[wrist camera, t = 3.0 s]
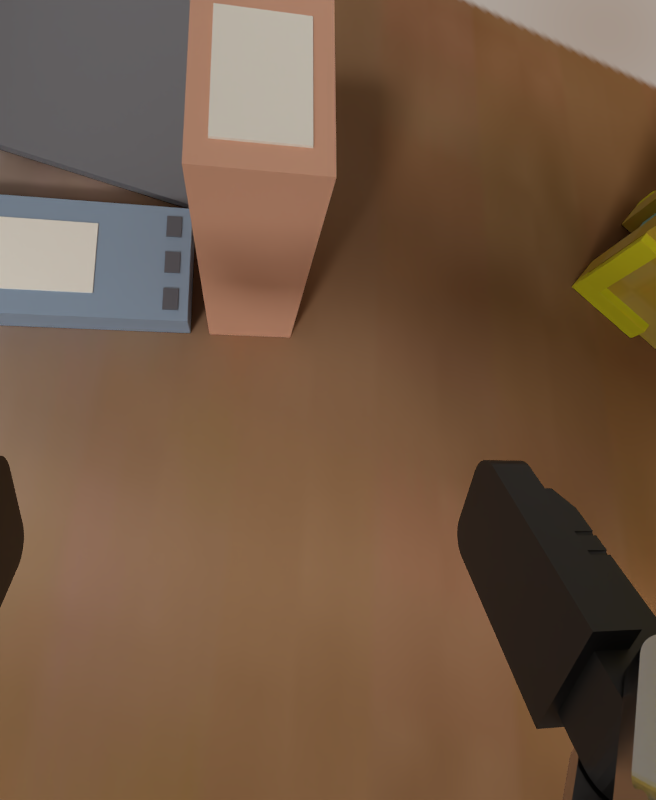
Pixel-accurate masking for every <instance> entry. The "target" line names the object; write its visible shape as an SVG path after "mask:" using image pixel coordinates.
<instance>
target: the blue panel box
mask: <svg viewBox="0 0 656 800" xmlns="http://www.w3.org/2000/svg"><path fill="white" fill-rule="evenodd" d="M194 244H195V242H194V236H193V230H192V224H191V217H190V211H189V209H188V208H174V207H161V206H148V205H134V204H121V203H108V202H95V201H81V200H68V199H55V198H41V197H28V196H15V195H1V194H0V325H6V326H30V327H54V328H79V329H103V330H127V331H151V332H175V333H191V311H192V289H193V266H194Z"/></svg>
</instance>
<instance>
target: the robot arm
mask: <svg viewBox="0 0 656 800" xmlns="http://www.w3.org/2000/svg"><path fill="white" fill-rule="evenodd" d="M457 536H458V545H459V550H460V553H461V556H462V558H463V561H464V563H465V565H466V568H467V570H468V572H469V575H470V577H471V579H472V581H473V584H474V586H475V588H476V591H477V593H478V595H479V598H480V600H481V602H482V604H483V607H484V609H485V611H486V614H487V616H488V618H489V621H490V623H491V625H492V627H493V630H494V632H495V634H496V637H497V639H498V641H499V643H500V646H501V648H502V650H503V653H504V655H505V657H506V660H507V662H508V664H509V666H510V669H511V671H512V673H513V676H514V678H515V680H516V683H517V685H518V687H519V689H520V692H521V694H522V696H523V699H524V701H525V703H526V706H527V708H528V710H529V712H530V715H531V717H532V719H533V722H534V724H535V726H536V729H542V728H554V727H565V729H566V731H567V733H568V736H569V738H570V740H571V742H572V744H573V746H574V749H573V750H572V752H571V755H570V759H569V765H568V771H567V777H566V783H565V788H564V794H563V800H656V617H655V615H654V614H653V613H652V611H651V610H650V609H649V607H648V606H647V604H646V603H645V602H644V600H643V599H642V598H641V596H640V595H639V594H638V592H637V591H636V589H635V588H634V587H633V585H632V584H631V583H630V581H629V580H628V579H627V577H626V576H625V574H624V573H623V572H622V570H621V569H620V568H619V566H618V565H617V564H616V562H615V561H614V559H613V558H612V557H611V555H607V553H606V548H605V547H604V546H603V544H602V543H601V542H600V540H599V539H598V538H597V536H596V535H594V536H593V534H592V529H591V528H590V527H589V525H588V524H587V523H586V521H585V520H584V518H583V517H582V516H581V514H580V513H579V512H578V510H577V509H576V508H575V507H574V506H573V505H571V504H570V503H569V502H568V501H566V500H565V499H564V498H563V497H561V496H560V495H559V494H558V493H556V492H555V491H554V490H553V489H546V488H544V487H543V485H542V484H541V483H540V481H539V480H538V478H537V477H536V475H535V474H534V472H533V471H532V470H531V468H530V467H529V465H528V464H527V463H525V462H524V461H503V460H483V461H481V462H480V463H479V464H478V466H477V467H476V470H475V473H474V476H473V479H472V482H471V485H470V488H469V491H468V494H467V497H466V500H465V503H464V507H463V510H462V513H461V516H460V519H459V523H458V531H457ZM23 543H24V530H23V523H22V519H21V515H20V510H19V506H18V502H17V497H16V493H15V489H14V484H13V480H12V476H11V471H10V467H9V464H8V462H7V460H6V459H5V458H4V457H3V456H0V607H1V604H2V602H3V600H4V597H5V595H6V593H7V591H8V588H9V586H10V584H11V581H12V579H13V577H14V575H15V572H16V570H17V568H18V565H19V562H20V559H21V555H22V550H23Z"/></svg>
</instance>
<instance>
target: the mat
mask: <svg viewBox="0 0 656 800" xmlns="http://www.w3.org/2000/svg"><path fill="white" fill-rule="evenodd" d="M189 12H190V0H0V149H1V150H4V151H7V152H10V153H13V154H16V155H20V156H23V157H26V158H29V159H32V160H35V161H39V162H42V163H45V164H48V165H51V166H54V167H58V168H61V169H64V170H67V171H70V172H73V173H77V174H80V175H83V176H86V177H89V178H92V179H96V180H99V181H102V182H105V183H108V184H111V185H115V186H118V187H121V188H124V189H127V190H130V191H134V192H137V193H140V194H143V195H146V196H149V197H153V198H156V199H159V200H162V201H165V202H168V203H172V204H175V205H178V206H181V207H184V208H188V209H189V205H188V199H187V193H186V187H185V181H184V175H183V168H182V149H183V129H184V110H185V90H186V71H187V51H188V32H189Z"/></svg>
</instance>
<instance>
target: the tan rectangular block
mask: <svg viewBox="0 0 656 800" xmlns="http://www.w3.org/2000/svg"><path fill="white" fill-rule="evenodd" d="M182 168H183V175H184V181H185V187H186V193H187V199H188V205H189V211H190V217H191V224H192V230H193V236H194V242H195V248H196V254H197V260H198V267H199V273H200V279H201V285H202V291H203V297H204V303H205V309H206V316H207V322H208V328H209V334H217V335H241V336H266V337H290V336H291V333H292V329H293V326H294V323H295V319H296V316H297V312H298V309H299V305H300V302H301V298H302V295H303V291H304V288H305V285H306V281H307V278H308V274H309V271H310V267H311V264H312V260H313V257H314V253H315V250H316V247H317V243H318V240H319V236H320V233H321V229H322V226H323V222H324V219H325V215H326V212H327V208H328V205H329V202H330V198H331V195H332V191H333V188H334V184H335V181H336V177H337V174H336V93H335V13H334V0H190V12H189V32H188V51H187V71H186V90H185V110H184V129H183V149H182Z"/></svg>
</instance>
